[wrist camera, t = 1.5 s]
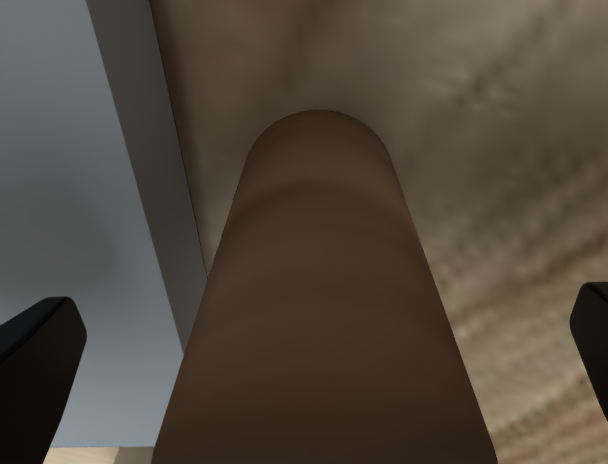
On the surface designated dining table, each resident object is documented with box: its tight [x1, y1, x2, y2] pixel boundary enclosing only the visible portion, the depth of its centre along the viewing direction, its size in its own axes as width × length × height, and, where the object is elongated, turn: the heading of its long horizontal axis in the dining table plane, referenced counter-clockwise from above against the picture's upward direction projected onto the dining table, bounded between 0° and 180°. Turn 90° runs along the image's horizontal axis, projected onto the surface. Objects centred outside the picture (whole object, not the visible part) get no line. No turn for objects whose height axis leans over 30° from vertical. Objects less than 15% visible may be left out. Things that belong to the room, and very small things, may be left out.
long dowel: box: [151, 110, 498, 464], centre depth 9 cm, size 4×4×8 cm
